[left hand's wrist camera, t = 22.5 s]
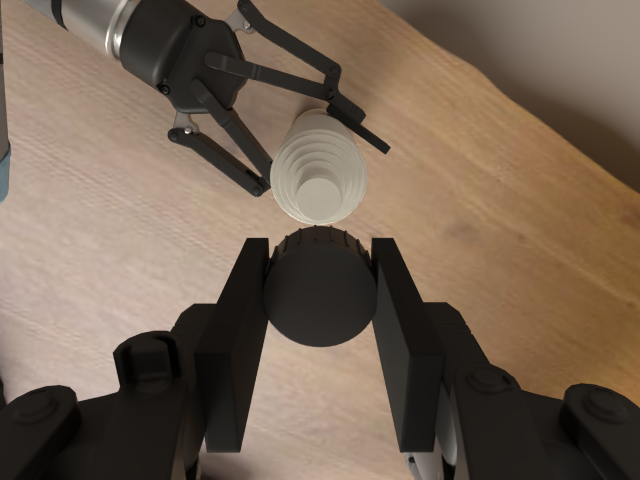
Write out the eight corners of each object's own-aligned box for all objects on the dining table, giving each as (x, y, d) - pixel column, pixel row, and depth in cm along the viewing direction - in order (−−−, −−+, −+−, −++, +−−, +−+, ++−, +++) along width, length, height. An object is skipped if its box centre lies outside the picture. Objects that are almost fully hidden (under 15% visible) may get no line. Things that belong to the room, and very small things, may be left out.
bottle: (353, 161, 45) (385, 240, 23) (297, 174, 46) (277, 263, 24) (342, 101, 43) (365, 127, 21) (282, 115, 43) (245, 155, 21)
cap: (394, 272, 15) (405, 297, 13) (321, 337, 16) (321, 368, 14) (319, 201, 14) (319, 218, 12) (245, 275, 15) (235, 300, 13)
